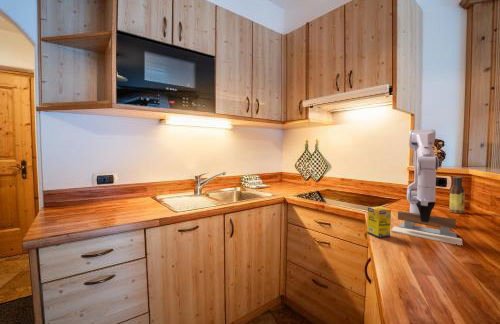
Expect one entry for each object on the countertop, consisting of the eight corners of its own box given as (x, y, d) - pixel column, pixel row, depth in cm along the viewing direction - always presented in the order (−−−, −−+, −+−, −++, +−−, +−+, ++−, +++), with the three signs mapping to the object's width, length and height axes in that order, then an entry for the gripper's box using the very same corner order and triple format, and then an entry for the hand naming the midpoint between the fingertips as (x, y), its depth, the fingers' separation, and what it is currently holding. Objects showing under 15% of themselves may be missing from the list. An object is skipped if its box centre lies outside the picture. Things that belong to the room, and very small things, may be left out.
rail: (399, 218, 98) (399, 211, 98) (455, 227, 87) (455, 219, 86) (397, 219, 96) (398, 212, 96) (455, 228, 84) (455, 220, 84)
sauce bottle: (464, 214, 124) (466, 177, 123) (449, 212, 127) (450, 177, 127) (463, 212, 129) (464, 176, 128) (448, 210, 133) (449, 176, 132)
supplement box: (378, 238, 89) (379, 210, 88) (366, 233, 94) (367, 206, 94) (390, 237, 90) (391, 209, 90) (378, 232, 96) (379, 206, 96)
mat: (394, 227, 102) (394, 226, 102) (461, 240, 87) (461, 238, 87) (391, 231, 96) (391, 230, 96) (462, 245, 82) (462, 244, 82)
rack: (401, 224, 106) (401, 212, 106) (456, 234, 94) (456, 220, 94) (398, 227, 102) (399, 215, 101) (456, 238, 89) (457, 224, 89)
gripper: (416, 184, 99) (415, 215, 99) (411, 187, 88) (410, 222, 89) (437, 185, 94) (436, 218, 95) (435, 189, 83) (433, 226, 84)
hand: (425, 220), depth 91 cm, fingers closed on rail, 3 cm apart
